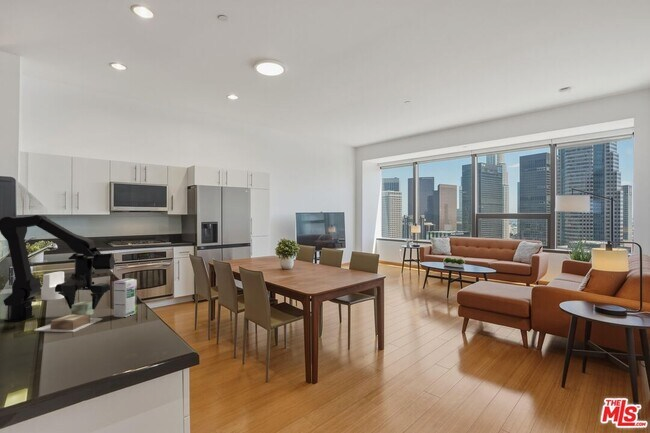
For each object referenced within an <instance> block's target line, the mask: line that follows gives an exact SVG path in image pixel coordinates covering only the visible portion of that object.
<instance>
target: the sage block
mask: <svg viewBox="0 0 650 433" xmlns="http://www.w3.org/2000/svg"><path fill="white" fill-rule="evenodd" d="M71 314H91V315H90V316H92V315H94V310H93V309H92V301H80V302H76V303H74V304H73V305H72V309H71Z"/></svg>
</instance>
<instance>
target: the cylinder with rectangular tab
mask: <svg viewBox="0 0 650 433" xmlns="http://www.w3.org/2000/svg"><path fill="white" fill-rule="evenodd" d="M42 278H43V279H42V285H41V286H42V287H40V300H42V301H55V300H60V299H65V297H64V296H63V295H61V294H58V293H59V292H55V287H56V285H57V284H61V283H64V282H65V271H55V272H50V273H44V274H43V275H42Z"/></svg>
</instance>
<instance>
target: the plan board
mask: <svg viewBox="0 0 650 433" xmlns="http://www.w3.org/2000/svg"><path fill="white" fill-rule="evenodd" d="M91 316H92V315H91V314H72V313H69V314H64V315H62V316H59V317H57V318H54V319H52V320H50V323H49V324H46V325H43V326H41V327H38V328H35V329H34V330H33V332H54V333H55V332H56V333H57V332H58V333H74V332H75V333H76V332H77V331H80V330H81V329H84V328H86V327H88V326H91V325H93V324H95V323H98V322H100V321H102V320H103V317H102V318H98V317H96V318H95V317H91Z"/></svg>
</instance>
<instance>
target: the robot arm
mask: <svg viewBox="0 0 650 433" xmlns="http://www.w3.org/2000/svg"><path fill="white" fill-rule="evenodd" d="M31 227H38V228H40V229H41V230H43V231H45V232H47V233H48V234H50V235H52V236H54V237H55V238H57V239H58V240H60V241H62V242H63V243H65V244H66V246H67V247H68V248H69V249H70V250H71V251H73V252H74V253H72V255H71V256H69V257H68V258H67V259H68V260H69V261H70V260H71V261H72V260H74V273H71V277H70V278H69V279H67V280H66V281H64V283H61V284H57V285H56V287H55V292H59V293H58V294H61V295H63V296H64V299H65V301H66V303H67V305H68V307H69V310H72V305H73V304H75V300H76V299H75V298H76V293H77V291H79V290H80V291H90V292H91V293H89V295H90V296H91V300H92V301H91V302H92V309H93V311H94V310H96V308H97V306H98V304H99V302H100V301H101V299H102V297H103V296H104V294H105V293H107V292H108V291H110V290H111V285H110V283H109V282H108V283H104V282H100V283H97V284H96V283H95V281H93V275H96V274H95V272H96V271H101V270H102V271H111V270H112V271H113V270H114V268H115V265H116V260H115V257H114V253H112V252H109V253H102V252H100V250H99V249H98V248H97V246H96V244H95V241H94V239H93V240H92V239H91V238H88V237H85V236H82V235H79V234H76V233H74V232H72V231H70V230H68V229H67V228H66V227H64V226H62V225H60V224H59V223H57V222H55V221H54V220H51V219H50V218H48V217H47V216H46V215H43V214H34V215H30V216H4V217H2V218H0V234H1V236H2V237H3V238H4V239H5V240H6V241H7V247H8V250H9V257H10V261H11V263H12V270H13V274H14V279H13V282H12V284H11V294H9V295H8V296H7V297H6V298H5V299H4V300H3V304H4V305H5V306H7V318H3V320H7V322H21V321H24V320H27V319H30V318H33V317H35V315H36V314H33V305H32V301H34V300H35V297H36V296H37V295H38V294H39V293H41V287H42V286H43V285H42V284H41V278H40V277H39V276H38V277H35V276H34V275H33V274H32V270H31V264H30V259H29V255H28V250H27V246H26V240H25V238H26V235H27V233H28V228H31ZM93 269H94V270H95V271H93Z"/></svg>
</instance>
